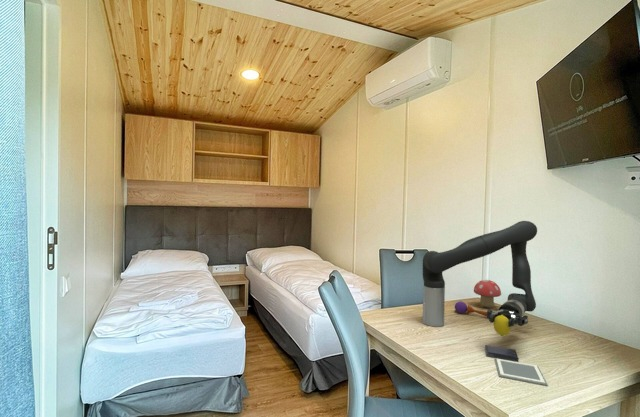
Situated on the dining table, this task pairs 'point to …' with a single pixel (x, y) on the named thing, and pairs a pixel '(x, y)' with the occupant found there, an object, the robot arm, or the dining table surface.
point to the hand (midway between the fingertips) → (500, 322)
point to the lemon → (501, 325)
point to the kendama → (467, 309)
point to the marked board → (520, 372)
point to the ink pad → (501, 353)
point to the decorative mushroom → (487, 292)
